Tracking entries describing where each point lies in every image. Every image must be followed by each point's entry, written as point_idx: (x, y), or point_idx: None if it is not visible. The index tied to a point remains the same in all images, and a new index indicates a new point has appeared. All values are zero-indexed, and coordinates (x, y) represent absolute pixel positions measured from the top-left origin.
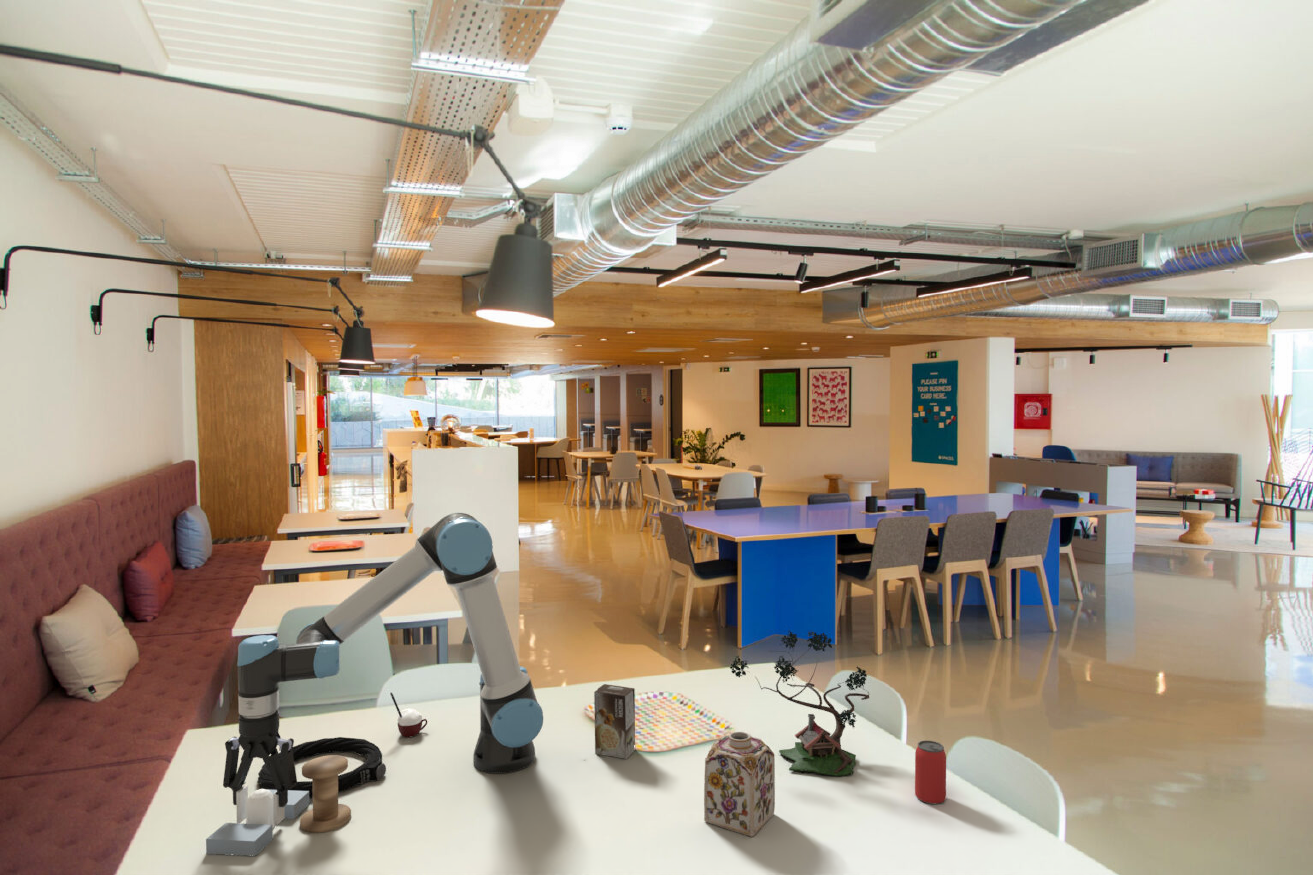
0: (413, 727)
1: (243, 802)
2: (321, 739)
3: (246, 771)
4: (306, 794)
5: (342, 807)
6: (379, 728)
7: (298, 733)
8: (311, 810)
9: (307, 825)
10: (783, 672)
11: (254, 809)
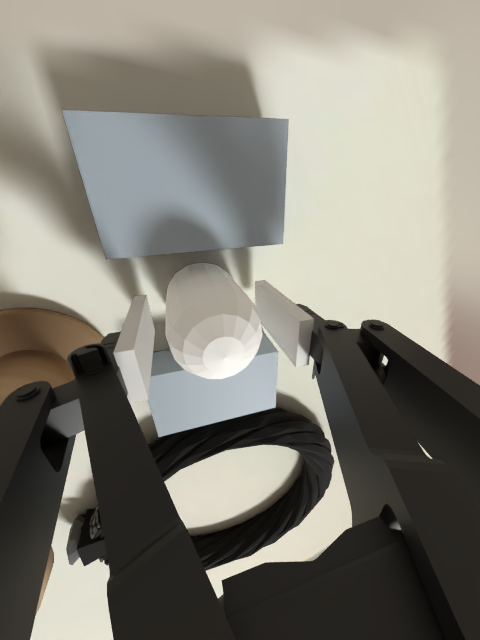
0: None
1: (274, 318)
2: (277, 538)
3: (331, 406)
4: (155, 425)
5: None
6: (221, 574)
7: (329, 519)
8: None
9: (39, 323)
10: None
11: (203, 286)
